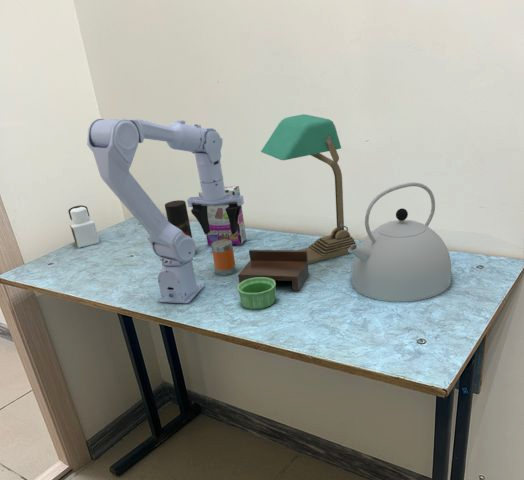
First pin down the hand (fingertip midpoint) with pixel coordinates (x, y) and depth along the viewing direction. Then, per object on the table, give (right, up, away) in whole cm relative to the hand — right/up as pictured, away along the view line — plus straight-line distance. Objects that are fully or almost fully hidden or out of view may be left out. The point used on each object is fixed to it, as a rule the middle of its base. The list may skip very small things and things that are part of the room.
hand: (220, 232), depth 140 cm
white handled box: (-47, +5, +40) cm, 62 cm away
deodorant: (-12, -2, +21) cm, 24 cm away
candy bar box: (0, +2, +24) cm, 25 cm away
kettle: (+42, -14, -12) cm, 46 cm away
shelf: (+14, -13, -4) cm, 20 cm away
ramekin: (+10, -19, -13) cm, 25 cm away
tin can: (+1, -9, +5) cm, 11 cm away
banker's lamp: (+25, -5, +8) cm, 27 cm away
